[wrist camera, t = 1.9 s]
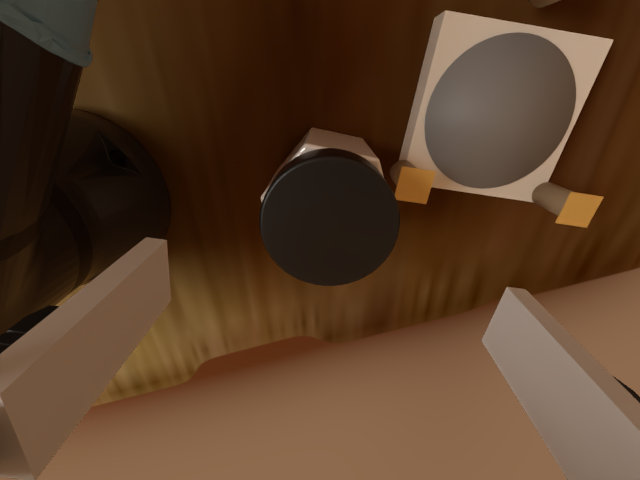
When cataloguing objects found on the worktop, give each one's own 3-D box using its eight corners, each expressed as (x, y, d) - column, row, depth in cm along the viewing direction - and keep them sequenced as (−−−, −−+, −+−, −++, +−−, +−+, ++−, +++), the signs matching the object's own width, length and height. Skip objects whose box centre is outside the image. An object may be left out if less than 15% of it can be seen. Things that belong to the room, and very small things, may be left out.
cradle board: (379, 177, 29) (393, 199, 23) (429, -40, 22) (467, -88, 16) (534, 199, 29) (586, 227, 24) (626, -4, 23) (732, -38, 17)
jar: (273, 208, 30) (244, 274, 19) (286, 119, 27) (259, 139, 16) (364, 226, 31) (384, 299, 20) (388, 141, 28) (428, 174, 17)
